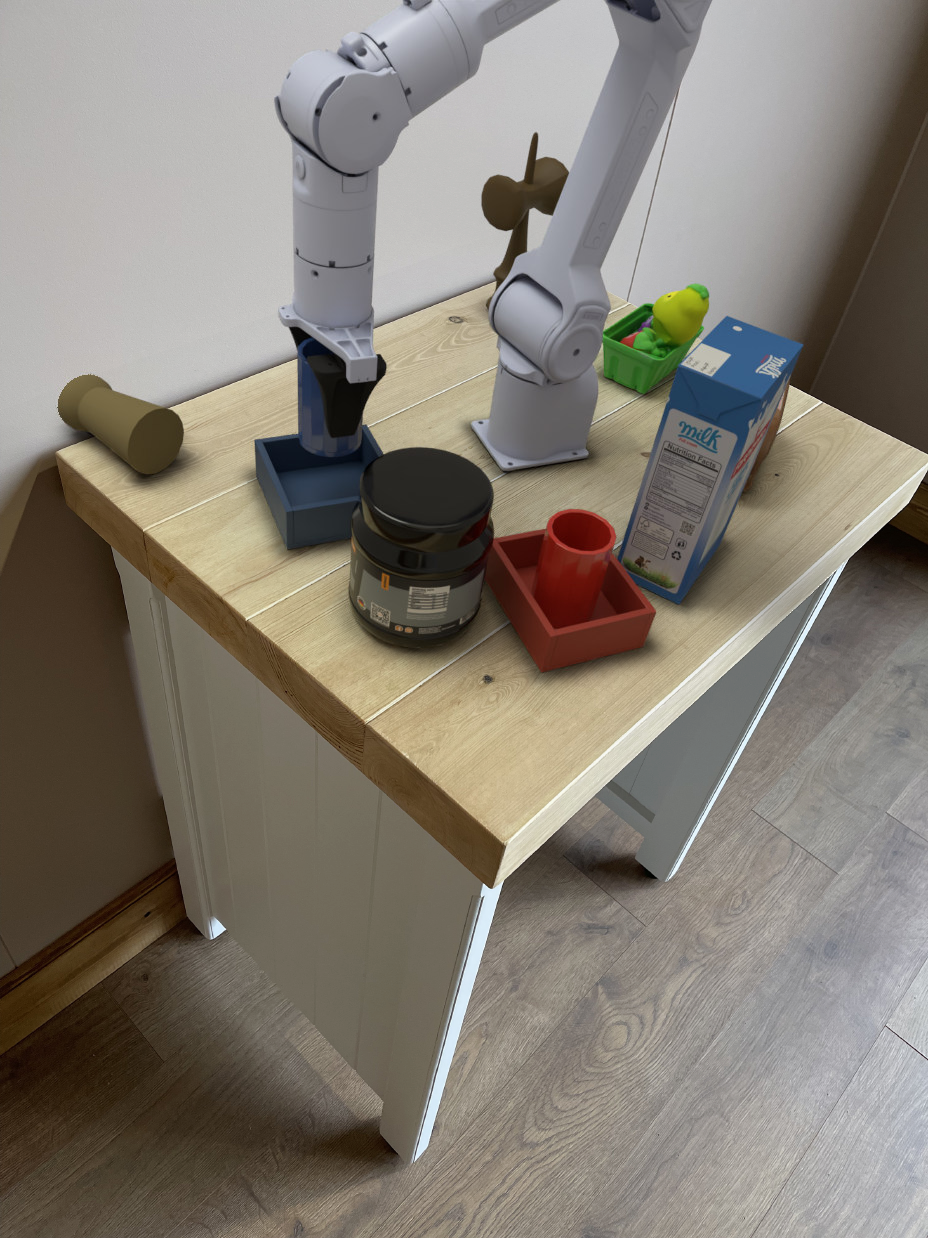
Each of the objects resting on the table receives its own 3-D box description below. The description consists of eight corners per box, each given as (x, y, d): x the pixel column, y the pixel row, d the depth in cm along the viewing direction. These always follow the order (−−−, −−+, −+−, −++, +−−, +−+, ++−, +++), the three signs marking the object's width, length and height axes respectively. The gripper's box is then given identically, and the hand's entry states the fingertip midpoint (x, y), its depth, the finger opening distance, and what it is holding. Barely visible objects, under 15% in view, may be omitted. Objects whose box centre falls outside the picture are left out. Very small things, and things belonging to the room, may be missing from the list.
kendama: (550, 310, 111) (586, 132, 97) (501, 334, 105) (530, 149, 91) (512, 291, 113) (541, 115, 99) (461, 313, 108) (484, 130, 94)
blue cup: (361, 422, 79) (365, 337, 73) (361, 458, 75) (366, 371, 70) (299, 419, 78) (298, 332, 72) (297, 455, 74) (296, 367, 69)
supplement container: (415, 544, 78) (428, 424, 70) (506, 612, 74) (532, 493, 65) (319, 599, 72) (320, 475, 64) (412, 676, 68) (426, 555, 59)
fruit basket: (635, 340, 108) (661, 246, 100) (703, 370, 105) (735, 275, 97) (587, 376, 101) (611, 277, 93) (658, 409, 98) (689, 310, 90)
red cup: (586, 585, 76) (608, 510, 71) (598, 630, 73) (622, 555, 67) (525, 583, 76) (542, 507, 70) (534, 629, 72) (553, 553, 66)
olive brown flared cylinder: (126, 418, 75) (40, 370, 79) (129, 483, 79) (46, 434, 83) (183, 400, 79) (99, 356, 84) (184, 462, 83) (103, 417, 87)
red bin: (578, 555, 80) (587, 519, 77) (643, 646, 73) (657, 611, 70) (481, 575, 76) (488, 538, 74) (541, 672, 70) (550, 636, 67)
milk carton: (678, 605, 77) (761, 398, 63) (612, 573, 79) (678, 364, 64) (720, 544, 83) (804, 343, 69) (658, 516, 85) (727, 314, 71)
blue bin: (364, 460, 86) (366, 423, 83) (402, 528, 79) (406, 492, 77) (256, 476, 82) (254, 439, 79) (287, 549, 76) (286, 512, 73)
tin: (738, 423, 98) (765, 352, 92) (767, 432, 97) (796, 361, 91) (714, 501, 88) (743, 426, 82) (746, 511, 87) (778, 437, 81)
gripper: (252, 209, 68) (259, 372, 78) (308, 303, 59) (308, 473, 69) (344, 205, 71) (339, 363, 80) (410, 294, 62) (396, 460, 72)
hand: (331, 413), depth 75 cm, fingers closed on blue cup, 5 cm apart
